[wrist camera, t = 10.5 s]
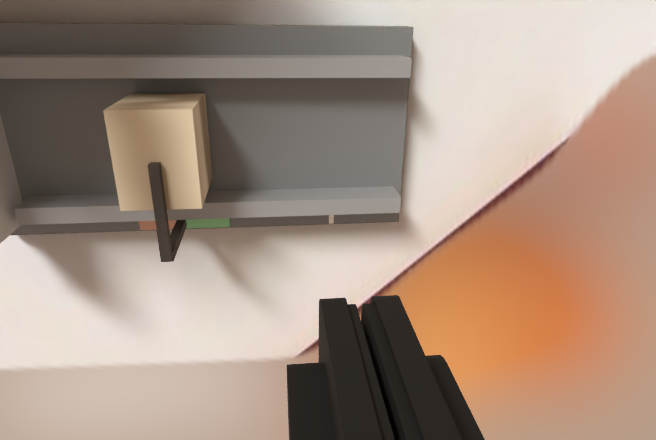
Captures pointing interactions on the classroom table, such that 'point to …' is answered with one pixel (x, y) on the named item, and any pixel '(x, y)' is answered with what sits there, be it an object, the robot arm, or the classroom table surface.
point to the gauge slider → (160, 157)
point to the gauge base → (223, 121)
